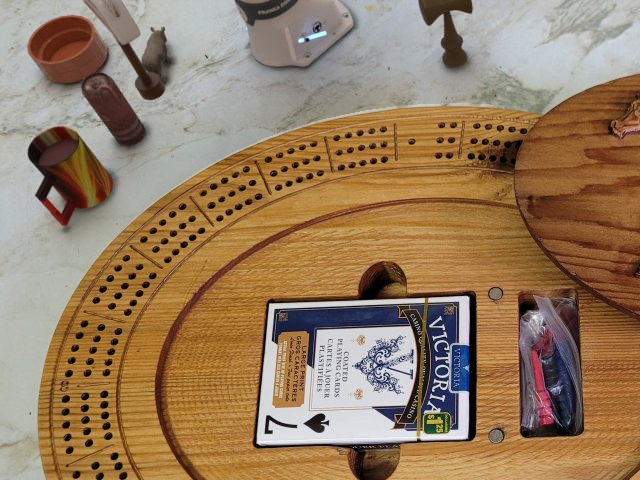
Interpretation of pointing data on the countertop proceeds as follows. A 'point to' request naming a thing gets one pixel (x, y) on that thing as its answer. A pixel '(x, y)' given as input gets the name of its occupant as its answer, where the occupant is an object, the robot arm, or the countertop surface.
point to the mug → (68, 171)
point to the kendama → (447, 27)
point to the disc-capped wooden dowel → (143, 76)
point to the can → (113, 108)
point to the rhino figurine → (156, 52)
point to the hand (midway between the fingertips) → (120, 35)
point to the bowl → (67, 48)
